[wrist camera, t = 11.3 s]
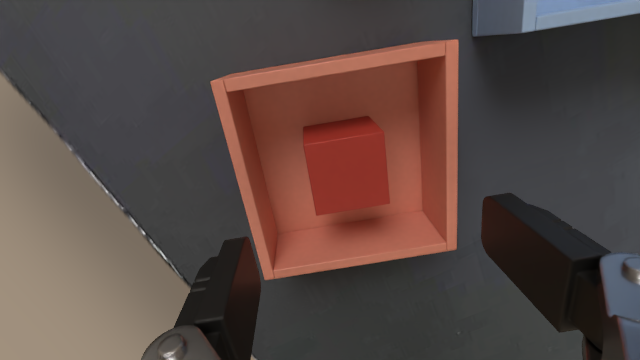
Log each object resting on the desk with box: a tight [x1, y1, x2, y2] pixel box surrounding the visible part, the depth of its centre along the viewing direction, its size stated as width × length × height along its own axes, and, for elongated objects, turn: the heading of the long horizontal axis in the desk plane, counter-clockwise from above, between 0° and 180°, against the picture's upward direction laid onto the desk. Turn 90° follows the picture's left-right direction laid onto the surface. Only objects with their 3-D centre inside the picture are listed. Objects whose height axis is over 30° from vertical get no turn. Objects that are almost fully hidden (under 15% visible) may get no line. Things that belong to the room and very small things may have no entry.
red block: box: [303, 116, 390, 216], centre depth 18 cm, size 4×4×4 cm
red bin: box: [210, 40, 458, 280], centre depth 19 cm, size 11×11×5 cm
